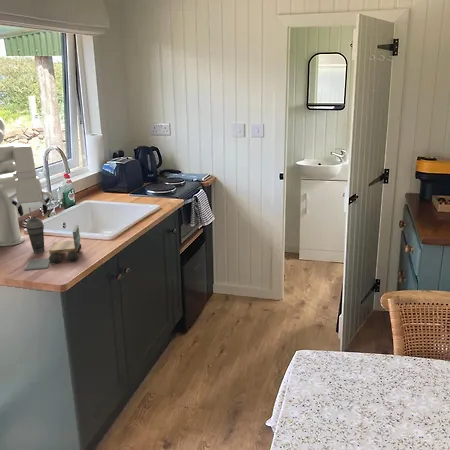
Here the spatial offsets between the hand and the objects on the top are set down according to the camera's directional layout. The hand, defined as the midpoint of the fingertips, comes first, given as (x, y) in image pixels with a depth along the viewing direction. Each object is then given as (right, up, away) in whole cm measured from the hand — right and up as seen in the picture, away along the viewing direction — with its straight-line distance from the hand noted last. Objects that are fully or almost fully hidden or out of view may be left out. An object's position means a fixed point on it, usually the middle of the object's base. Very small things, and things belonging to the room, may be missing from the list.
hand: (33, 214), depth 212 cm
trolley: (+15, -18, -2) cm, 23 cm away
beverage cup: (0, -16, +6) cm, 17 cm away
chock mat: (+6, -21, -9) cm, 23 cm away
